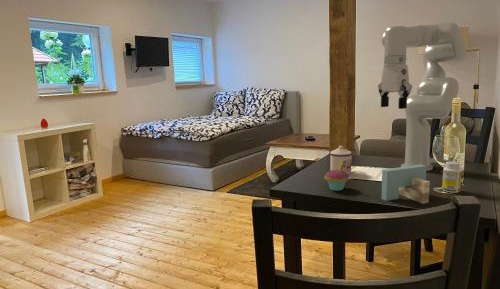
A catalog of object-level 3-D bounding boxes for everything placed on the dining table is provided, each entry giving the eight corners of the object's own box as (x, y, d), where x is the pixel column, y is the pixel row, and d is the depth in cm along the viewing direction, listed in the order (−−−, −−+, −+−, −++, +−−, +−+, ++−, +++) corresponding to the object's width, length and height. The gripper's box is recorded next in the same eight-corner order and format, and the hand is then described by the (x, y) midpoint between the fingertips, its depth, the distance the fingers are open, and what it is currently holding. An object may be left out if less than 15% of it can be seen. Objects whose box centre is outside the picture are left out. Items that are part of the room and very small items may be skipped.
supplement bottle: (453, 188, 132) (455, 160, 130) (463, 193, 127) (465, 163, 125) (438, 189, 131) (440, 161, 130) (448, 194, 126) (450, 164, 124)
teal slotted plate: (419, 192, 129) (421, 164, 127) (424, 194, 126) (426, 165, 125) (381, 198, 124) (382, 169, 122) (386, 200, 121) (387, 171, 120)
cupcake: (344, 185, 140) (345, 154, 138) (351, 191, 132) (352, 159, 130) (322, 186, 140) (322, 155, 138) (327, 192, 132) (327, 160, 129)
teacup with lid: (343, 177, 151) (343, 149, 149) (325, 173, 158) (325, 146, 156) (360, 171, 159) (360, 144, 157) (342, 168, 166) (342, 142, 164)
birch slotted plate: (388, 189, 133) (389, 171, 131) (394, 189, 133) (394, 170, 132) (422, 203, 118) (423, 182, 116) (428, 202, 118) (429, 181, 117)
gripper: (420, 59, 130) (418, 108, 133) (387, 62, 146) (386, 105, 149) (403, 60, 127) (401, 109, 130) (371, 62, 144) (370, 106, 147)
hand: (393, 107), depth 140 cm, fingers open, 9 cm apart
